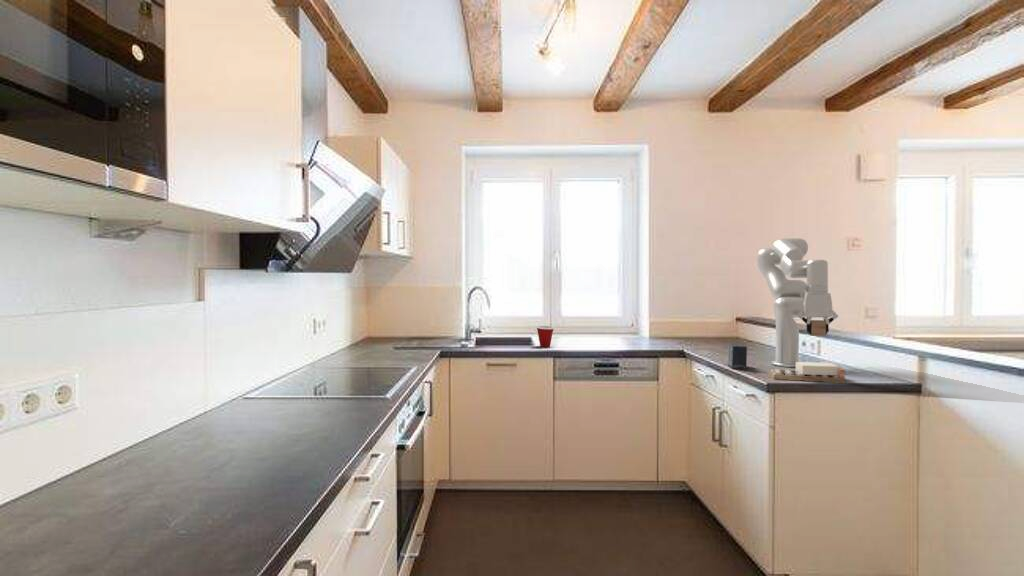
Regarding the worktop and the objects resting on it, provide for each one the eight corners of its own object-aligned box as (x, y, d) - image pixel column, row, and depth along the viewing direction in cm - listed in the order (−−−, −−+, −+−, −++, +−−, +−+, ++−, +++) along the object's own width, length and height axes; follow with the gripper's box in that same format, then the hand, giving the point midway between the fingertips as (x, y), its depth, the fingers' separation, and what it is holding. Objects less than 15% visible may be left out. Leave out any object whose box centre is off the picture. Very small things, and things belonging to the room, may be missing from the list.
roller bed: (770, 373, 221) (770, 361, 221) (837, 377, 212) (837, 365, 212) (773, 379, 209) (773, 366, 209) (845, 383, 201) (845, 370, 200)
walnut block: (809, 334, 215) (809, 320, 215) (823, 334, 214) (822, 320, 214) (811, 335, 211) (811, 320, 211) (825, 335, 209) (825, 321, 209)
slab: (795, 370, 215) (795, 361, 215) (829, 371, 213) (829, 362, 212) (802, 374, 207) (802, 365, 207) (838, 375, 204) (838, 366, 204)
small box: (747, 369, 230) (747, 346, 229) (732, 369, 231) (732, 345, 231) (741, 365, 240) (742, 343, 240) (727, 364, 241) (727, 342, 241)
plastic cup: (544, 348, 296) (544, 327, 295) (532, 346, 304) (532, 326, 304) (558, 346, 303) (558, 326, 302) (545, 344, 311) (545, 324, 311)
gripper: (795, 289, 212) (795, 334, 212) (843, 289, 206) (843, 335, 206) (792, 289, 219) (792, 332, 219) (838, 289, 213) (838, 333, 213)
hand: (817, 333), depth 212 cm, fingers closed on walnut block, 5 cm apart
